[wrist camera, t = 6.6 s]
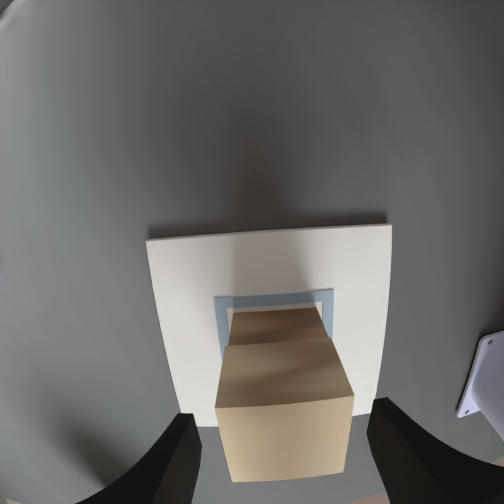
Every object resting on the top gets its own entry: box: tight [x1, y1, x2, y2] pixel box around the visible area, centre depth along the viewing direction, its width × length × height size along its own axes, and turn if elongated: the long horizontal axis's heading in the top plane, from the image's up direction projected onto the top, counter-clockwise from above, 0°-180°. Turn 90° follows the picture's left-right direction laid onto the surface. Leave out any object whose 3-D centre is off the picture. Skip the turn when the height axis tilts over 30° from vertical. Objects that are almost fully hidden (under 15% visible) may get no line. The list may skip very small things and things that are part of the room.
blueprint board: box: [146, 223, 392, 426], centre depth 18 cm, size 13×13×1 cm
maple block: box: [215, 337, 355, 482], centre depth 12 cm, size 4×4×4 cm
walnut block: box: [228, 307, 328, 346], centre depth 16 cm, size 4×4×4 cm
